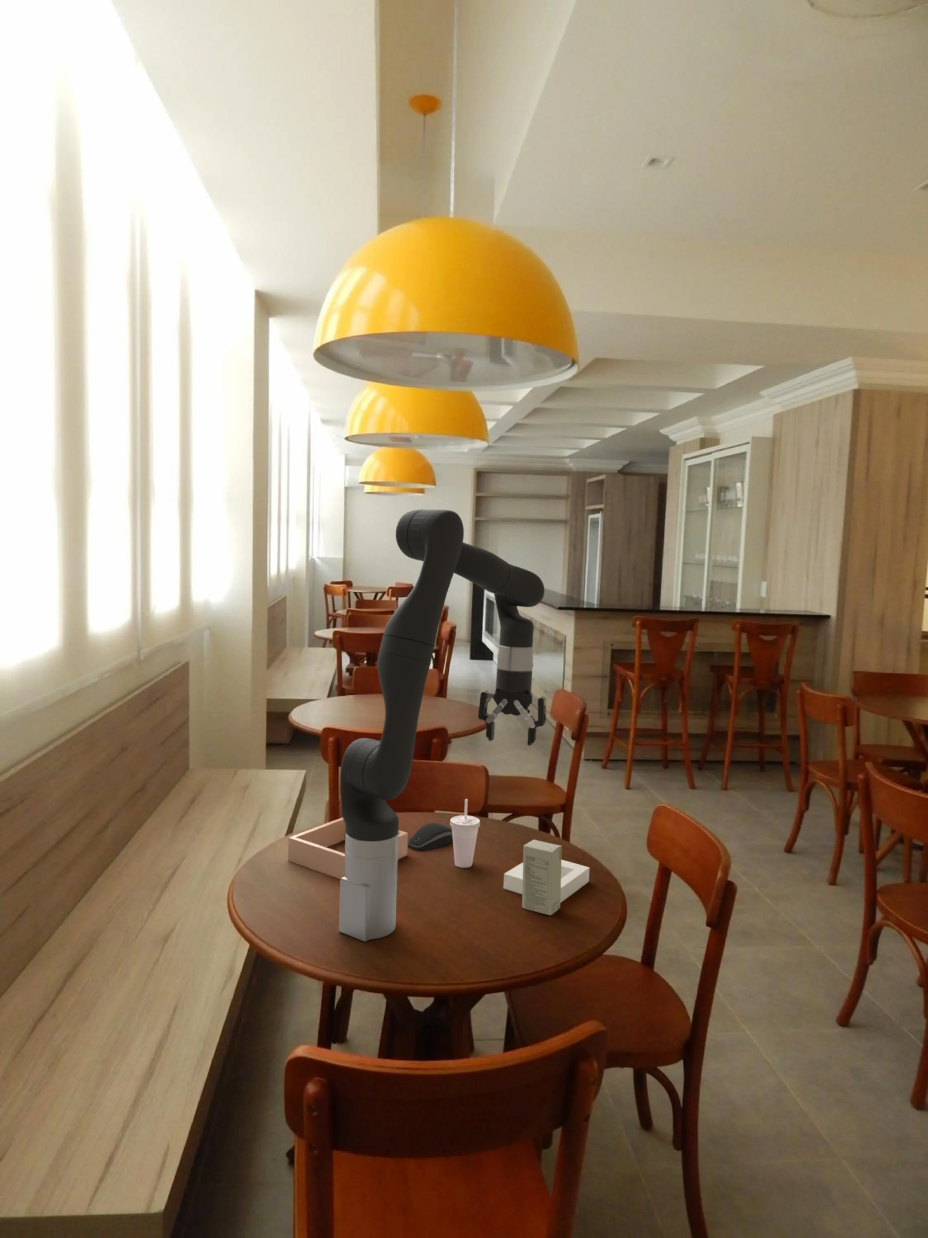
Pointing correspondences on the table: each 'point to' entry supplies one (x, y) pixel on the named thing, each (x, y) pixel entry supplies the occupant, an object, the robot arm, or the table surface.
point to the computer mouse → (431, 837)
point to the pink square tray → (318, 857)
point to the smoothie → (464, 838)
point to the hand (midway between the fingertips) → (510, 742)
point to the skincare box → (541, 877)
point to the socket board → (570, 878)
